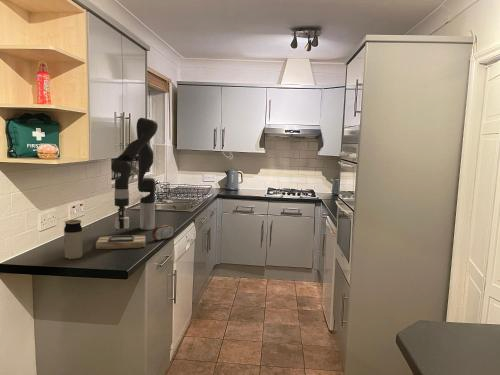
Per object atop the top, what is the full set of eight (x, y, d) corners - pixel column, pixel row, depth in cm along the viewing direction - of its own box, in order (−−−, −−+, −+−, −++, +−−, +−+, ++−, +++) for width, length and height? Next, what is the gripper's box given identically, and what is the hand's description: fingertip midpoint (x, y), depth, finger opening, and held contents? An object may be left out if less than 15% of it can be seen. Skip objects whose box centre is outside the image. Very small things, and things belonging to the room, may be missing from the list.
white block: (115, 228, 218) (115, 217, 217) (128, 228, 220) (128, 216, 219) (114, 230, 213) (114, 218, 212) (128, 230, 215) (128, 218, 214)
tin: (172, 236, 239) (172, 222, 238) (175, 237, 237) (175, 223, 236) (151, 240, 228) (151, 226, 227) (155, 241, 226) (155, 227, 225)
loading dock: (99, 241, 222) (99, 234, 221) (145, 240, 228) (145, 233, 227) (95, 249, 207) (95, 241, 207) (144, 247, 213) (144, 240, 213)
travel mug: (85, 254, 197) (84, 219, 195) (78, 259, 190) (77, 223, 187) (69, 254, 197) (68, 219, 195) (62, 259, 189) (61, 222, 187)
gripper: (115, 195, 220) (116, 224, 222) (113, 199, 206) (113, 230, 208) (129, 195, 222) (129, 224, 224) (128, 199, 208) (128, 230, 210)
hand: (122, 227), depth 216 cm, fingers closed on white block, 5 cm apart
